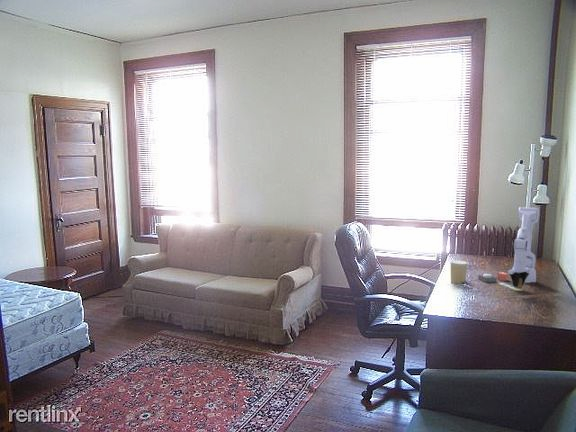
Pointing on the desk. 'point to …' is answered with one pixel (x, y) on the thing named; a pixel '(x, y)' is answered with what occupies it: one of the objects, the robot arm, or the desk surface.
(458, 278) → the coffee cup
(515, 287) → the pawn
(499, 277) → the die
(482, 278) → the board
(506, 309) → the desk surface
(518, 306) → the desk surface
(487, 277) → the dome
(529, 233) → the robot arm
